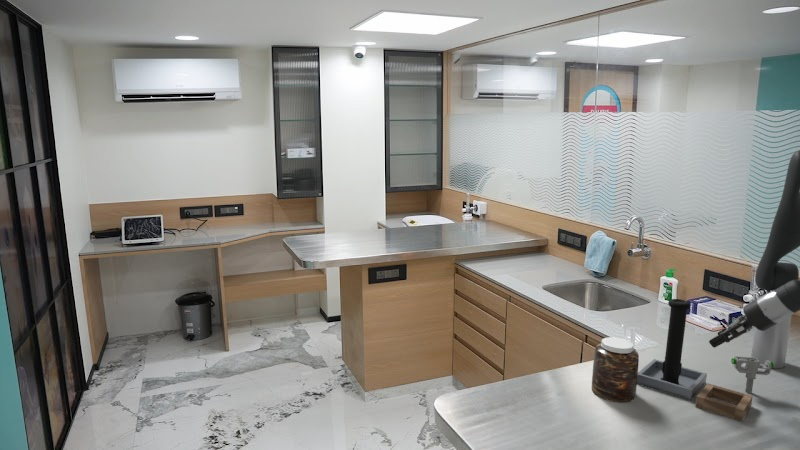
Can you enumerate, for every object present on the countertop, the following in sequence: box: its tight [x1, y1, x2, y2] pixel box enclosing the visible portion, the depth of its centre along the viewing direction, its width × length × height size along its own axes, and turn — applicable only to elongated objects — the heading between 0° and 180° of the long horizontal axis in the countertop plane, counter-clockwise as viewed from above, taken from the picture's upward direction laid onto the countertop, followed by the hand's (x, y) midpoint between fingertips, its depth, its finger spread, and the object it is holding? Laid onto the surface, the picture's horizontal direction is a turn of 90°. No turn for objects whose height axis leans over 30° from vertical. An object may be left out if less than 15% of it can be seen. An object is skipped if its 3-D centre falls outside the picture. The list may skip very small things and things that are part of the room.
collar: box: [695, 383, 753, 422], centre depth 151 cm, size 11×11×3 cm
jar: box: [591, 336, 640, 403], centre depth 157 cm, size 12×12×15 cm
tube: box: [660, 298, 691, 385], centre depth 161 cm, size 25×6×6 cm
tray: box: [637, 358, 708, 401], centre depth 165 cm, size 15×15×3 cm
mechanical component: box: [730, 356, 774, 395], centre depth 159 cm, size 3×10×10 cm, turn 78°
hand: (715, 340), depth 156 cm, fingers open, 8 cm apart
